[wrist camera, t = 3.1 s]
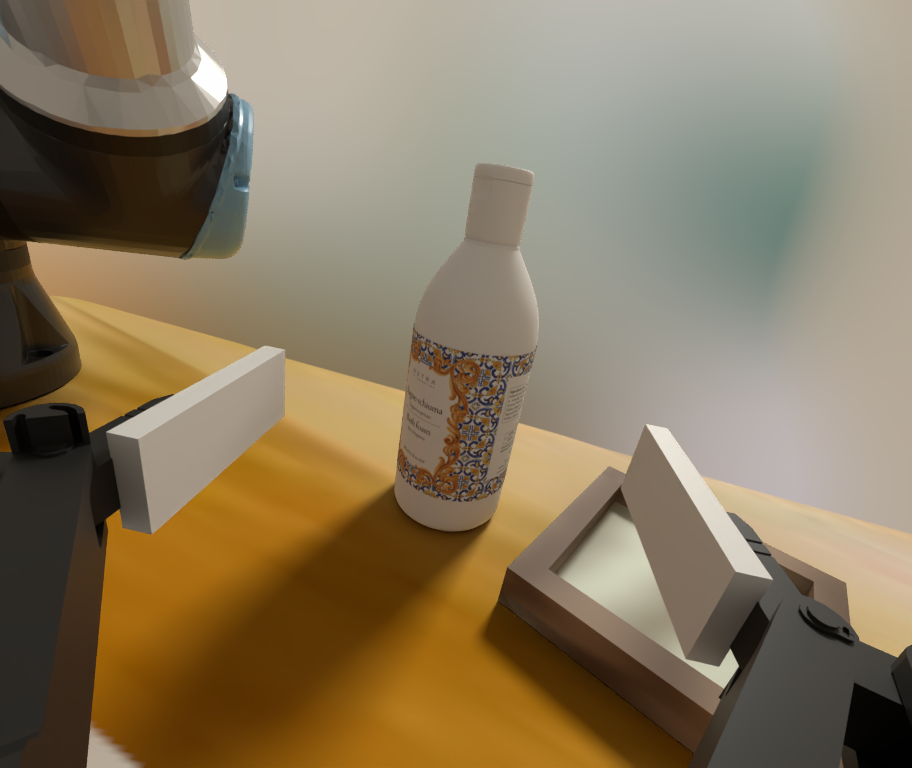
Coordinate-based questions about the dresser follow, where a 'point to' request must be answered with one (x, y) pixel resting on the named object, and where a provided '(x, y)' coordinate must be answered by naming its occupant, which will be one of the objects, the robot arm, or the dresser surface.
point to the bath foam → (470, 363)
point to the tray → (628, 610)
